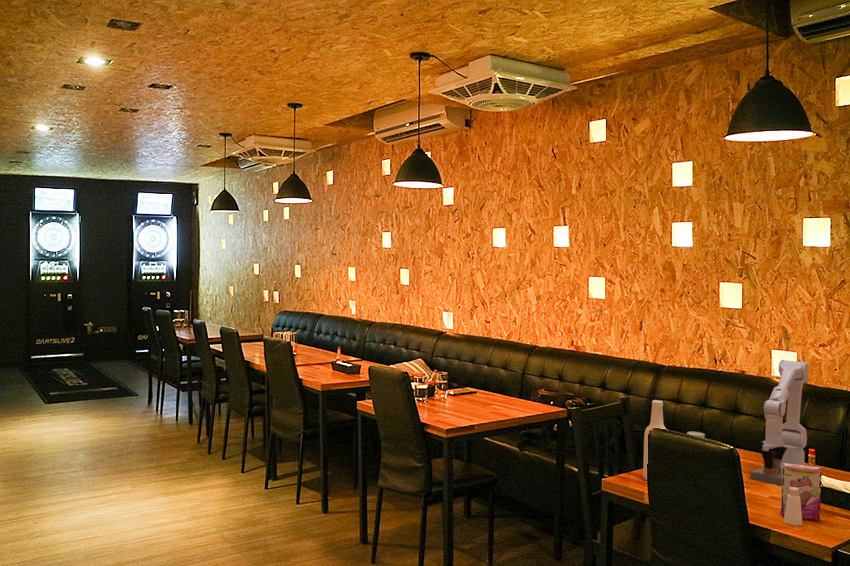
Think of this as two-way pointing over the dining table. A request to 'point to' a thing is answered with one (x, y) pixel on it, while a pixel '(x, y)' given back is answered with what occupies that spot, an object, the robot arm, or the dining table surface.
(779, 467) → the block
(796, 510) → the salt shaker
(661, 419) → the alcohol
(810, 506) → the candy bar box
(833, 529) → the dining table surface
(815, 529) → the dining table surface
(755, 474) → the tray
